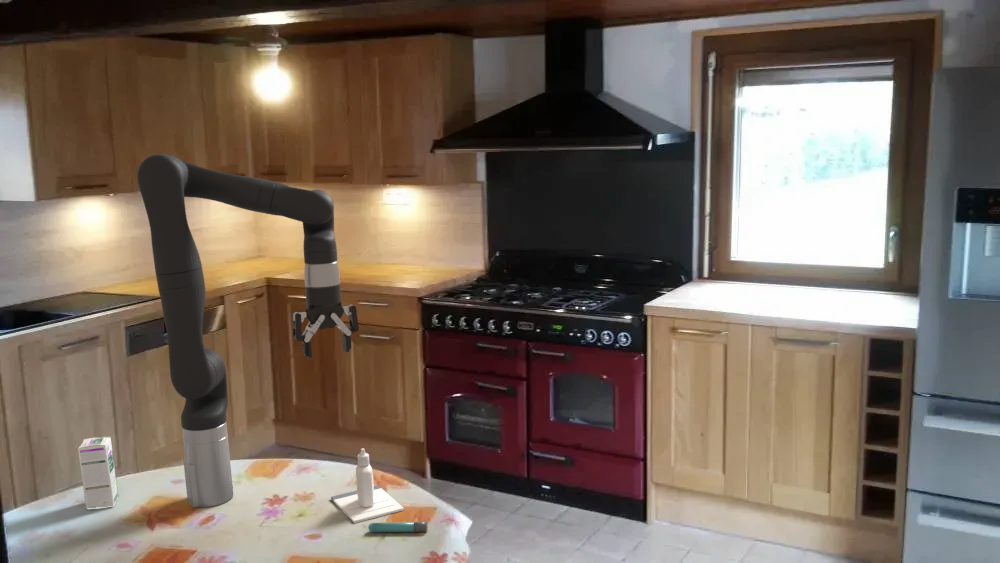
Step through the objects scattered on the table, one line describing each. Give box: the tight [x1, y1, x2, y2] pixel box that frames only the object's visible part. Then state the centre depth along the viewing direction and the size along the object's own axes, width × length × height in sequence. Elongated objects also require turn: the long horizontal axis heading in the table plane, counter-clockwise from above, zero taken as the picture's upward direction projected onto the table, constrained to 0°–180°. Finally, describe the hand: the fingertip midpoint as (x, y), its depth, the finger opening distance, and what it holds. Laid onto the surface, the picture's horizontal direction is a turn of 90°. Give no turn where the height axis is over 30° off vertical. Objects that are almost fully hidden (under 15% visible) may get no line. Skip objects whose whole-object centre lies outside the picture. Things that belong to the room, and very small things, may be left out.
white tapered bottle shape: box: [355, 447, 375, 507], centre depth 188 cm, size 4×6×12 cm
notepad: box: [330, 484, 405, 524], centre depth 189 cm, size 11×14×1 cm
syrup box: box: [77, 436, 120, 509], centre depth 193 cm, size 6×6×14 cm
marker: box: [367, 521, 428, 533], centre depth 176 cm, size 12×2×2 cm, turn 87°
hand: (327, 354), depth 196 cm, fingers open, 8 cm apart
